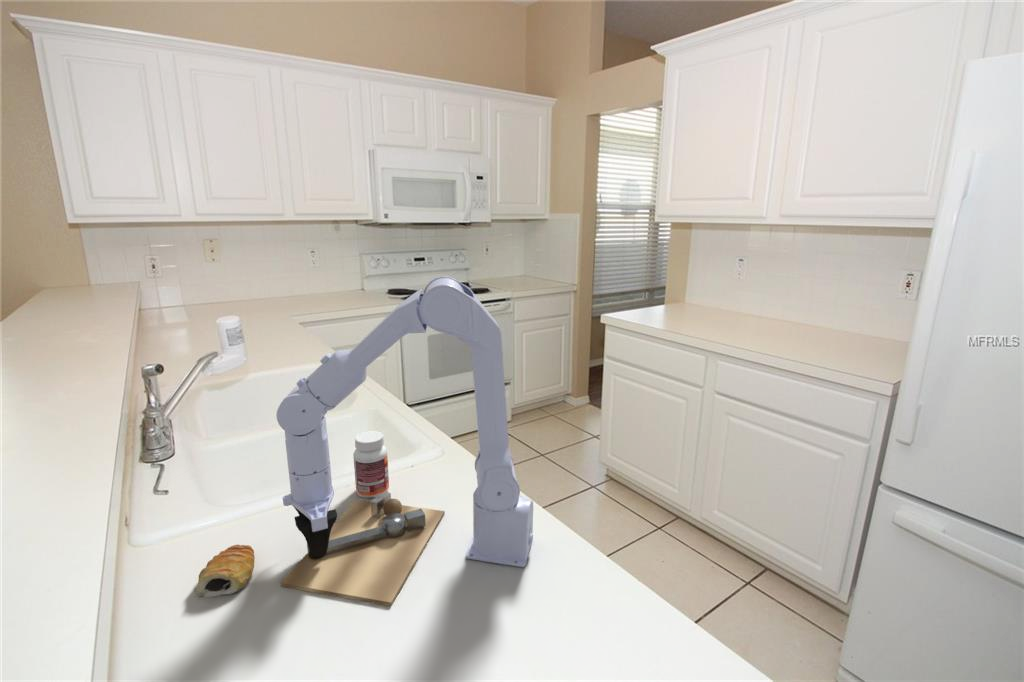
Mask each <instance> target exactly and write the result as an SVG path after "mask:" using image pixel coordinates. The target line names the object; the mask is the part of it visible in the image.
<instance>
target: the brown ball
mask: <svg viewBox="0 0 1024 682" xmlns="http://www.w3.org/2000/svg"><path fill="white" fill-rule="evenodd" d="M402 505H403V504H402V502H401V501H400V500H399V499H397V498H391V499H389V500H388V501H386V503H385V504H384V507H383V511H384V514H385V515H386V516H387V515H389V514H392V513H401V511H402Z"/></svg>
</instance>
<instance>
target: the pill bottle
mask: <svg viewBox="0 0 1024 682" xmlns="http://www.w3.org/2000/svg"><path fill="white" fill-rule="evenodd" d="M354 446H355V450H354V452H353V465H354V466H353V468H354V478H355V481H354V482H355V483H354V484H355V492H356V494H357V495H358V496H359V497H362V498H365V499H374V498H376V497H377V496H378V495H380V494H381V493H383V492H384V491H386V492H389V489H390V478H389V463H388V461H389V460H388V450H387V447H386V446H385V441H384V434H383V433H382V432H380V431H377V430H367V431H363V432H360V433H358V434H357V435H355V437H354Z"/></svg>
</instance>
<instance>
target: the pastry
mask: <svg viewBox="0 0 1024 682" xmlns="http://www.w3.org/2000/svg"><path fill="white" fill-rule="evenodd" d="M255 558H256V557H255V551H254V549H253V547H252V546H251V545H244V544H234V545H231V546H229V547H227V548H226V549H225V550H223V551H220V552H219V553H218V554H215V555H214V556H213V558H212V559H210V560H209V561H207V564H206V565H205V567H204V568H203V569H201V571H200V572H199V574H198V579H197V580H198V582H197V585H196V587H195V588H194V592H195V594H197V595H198V596H200V597H204V598H213V597H214V598H215V597H218V596H222V595H231V594H235V593H237V592H239V591H240V590H243V588H245V587H246V586H247V585H248V584H249V582H250V581H251V579H252V577H253V572H254V570H255V569H254V568H255Z"/></svg>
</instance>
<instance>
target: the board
mask: <svg viewBox="0 0 1024 682" xmlns="http://www.w3.org/2000/svg"><path fill="white" fill-rule="evenodd" d="M417 509H422V510H423V512H424V513H425V525H426V526H424V527H420V528H417V529H413V530H410V531H408V530H407V528H406V531H405V533H404V534H403V535H402V536H400V537H397V538H388V537H384V538H381V539H378V540H374V541H371V542H367V543H364V544H360V545H357V546H353V547H350V548H346V549H343V550H339V551H336V552H332V553H329V554H326V555H325V556H324V557H322V558H319V559H311V558H309V557H308V552H307V553H306V554H305V555H304V556H303V558H301V560H299V562H297V564H296V565H295V566H294V567H293V568H292V569H291V570H290V572H289V573H288V574H287V575H286V576H285V577H283V579H282V581H280V587H282V588H289V589H295V590H299V591H303V592H304V591H306V592H311V593H316V594H322V595H327V596H334V597H338V598H344V599H350V600H355V601H361V602H367V603H370V604H371V603H372V604H378V605H383V606H387V607H388V606H389V607H392V606H393V605H394V603H395V600H396V599H397V597H398V596H399V594H400V593H401V590H402V588H403V587H404V585H405V584H406V581H407V580H408V579H409V577H410V575H411V573H412V571H413V570H414V568H415V567H416V564H417V563H416V562H418V561H419V560H420V558H421V556H422V554H423V552H424V551H425V549H426V547H427V545H428V544H429V541H430V540H431V538H432V537H433V535H434V533H435V531H436V530H437V528H438V526H439V525H440V523H441V521H442V519H443V517H444V516H445V510H441V509H440V510H438V509H432V508H425V507H417V506H410V505H403V504H402V511H401V513H400V514H403V515H404V513H406V512H410V511H414V510H417ZM385 516H386V515H385V514H383V515H382V516H380V517H379V518H375V517H372V516H371V500H366V499H359V498H356V499H355V500H354V501H353V502H352V504H351V505H350V506H349V507H348V508H347V509H346V510H345V511H344V512H343V513H342V514H341V516H340V517H339V518H338V519H336V521H335V523H334V524H333V527H332V529H331V532H330V537H329V540H333V539H337V538H340V537H344V536H347V535H351V534H355V533H358V532H362V531H365V530H369V529H373V528H376V527H380V526H383V519H384V517H385ZM427 543H428V544H427ZM423 550H424V551H423ZM419 557H420V558H419Z"/></svg>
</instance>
